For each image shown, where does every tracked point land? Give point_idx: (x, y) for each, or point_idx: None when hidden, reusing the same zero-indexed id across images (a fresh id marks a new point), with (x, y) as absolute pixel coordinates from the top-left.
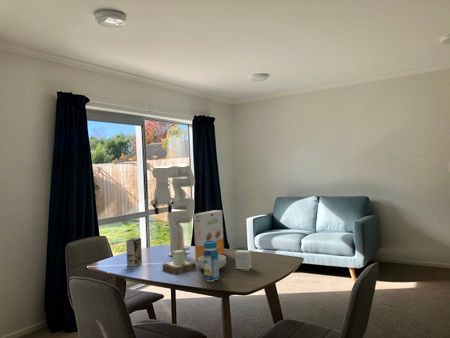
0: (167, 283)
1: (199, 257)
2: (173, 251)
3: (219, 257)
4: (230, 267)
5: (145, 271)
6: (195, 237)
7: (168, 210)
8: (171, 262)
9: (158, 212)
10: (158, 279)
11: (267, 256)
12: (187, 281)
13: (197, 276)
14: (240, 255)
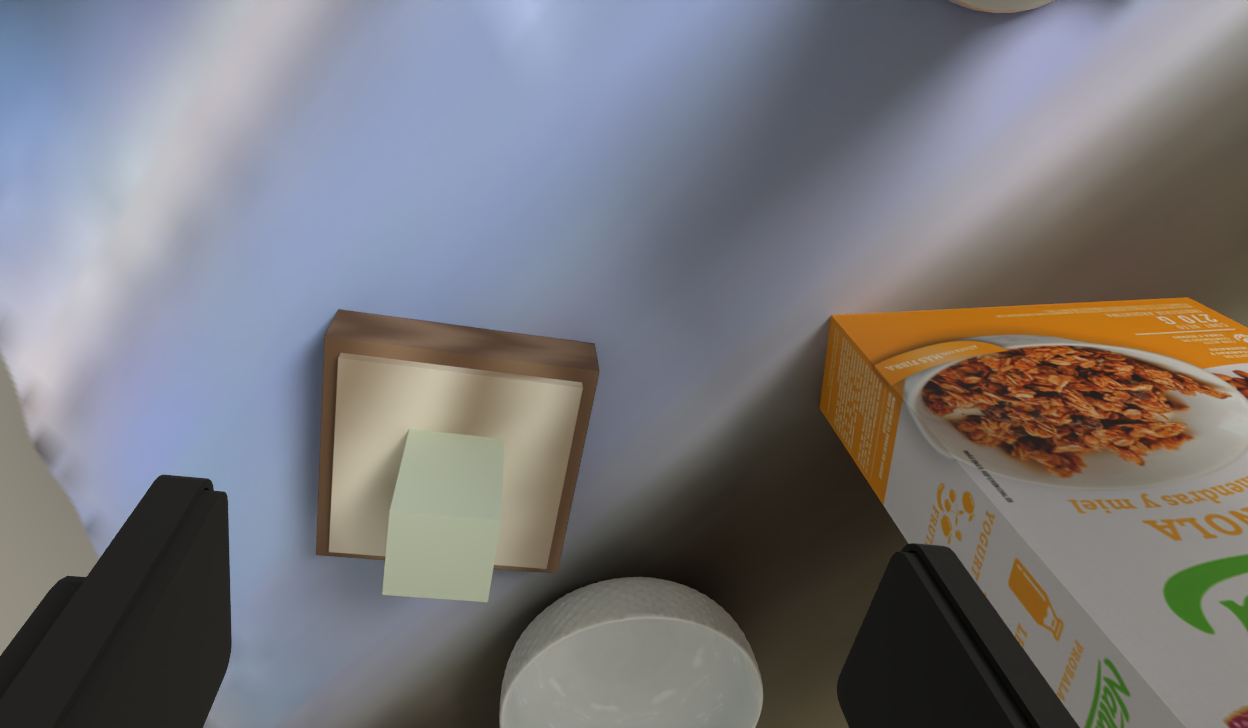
0: None
1: (595, 626)
2: (390, 523)
3: (747, 680)
4: None
5: (170, 169)
6: (950, 472)
7: (921, 627)
8: (418, 392)
9: (196, 722)
10: (120, 500)
11: None
12: (267, 693)
13: (405, 667)
14: None
